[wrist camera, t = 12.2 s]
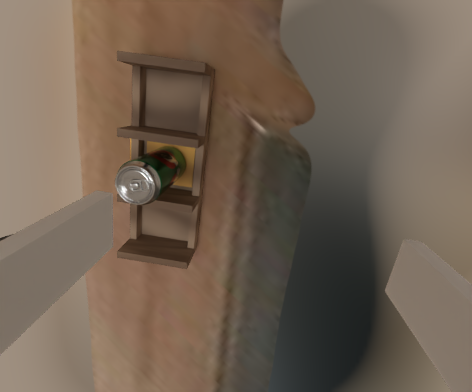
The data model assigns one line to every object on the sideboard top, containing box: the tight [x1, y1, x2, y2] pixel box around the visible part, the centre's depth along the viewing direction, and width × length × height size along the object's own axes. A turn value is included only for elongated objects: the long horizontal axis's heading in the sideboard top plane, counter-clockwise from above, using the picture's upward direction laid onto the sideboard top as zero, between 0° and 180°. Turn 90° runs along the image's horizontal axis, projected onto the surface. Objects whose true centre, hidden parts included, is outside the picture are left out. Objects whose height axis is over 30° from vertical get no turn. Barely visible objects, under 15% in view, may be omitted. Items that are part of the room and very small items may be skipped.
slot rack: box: [117, 51, 215, 269], centre depth 39 cm, size 26×10×7 cm, turn 172°
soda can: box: [115, 146, 186, 205], centre depth 35 cm, size 5×5×12 cm
